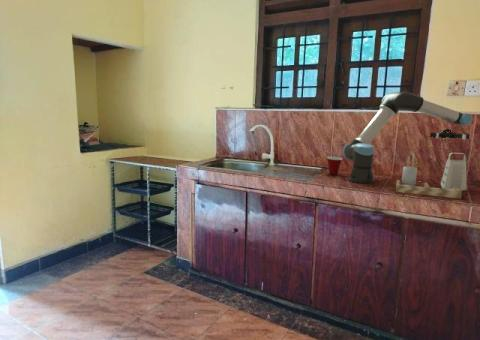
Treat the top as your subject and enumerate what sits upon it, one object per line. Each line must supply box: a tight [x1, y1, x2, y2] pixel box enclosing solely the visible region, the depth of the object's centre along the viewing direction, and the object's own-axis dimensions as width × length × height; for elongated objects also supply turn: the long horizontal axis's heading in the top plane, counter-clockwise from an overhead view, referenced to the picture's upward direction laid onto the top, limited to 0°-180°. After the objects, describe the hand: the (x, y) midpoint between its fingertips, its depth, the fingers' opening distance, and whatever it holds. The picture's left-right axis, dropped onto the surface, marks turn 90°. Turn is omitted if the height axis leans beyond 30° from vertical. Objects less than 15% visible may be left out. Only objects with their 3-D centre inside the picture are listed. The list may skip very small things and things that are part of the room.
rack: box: [395, 179, 463, 200], centre depth 168 cm, size 30×14×4 cm, turn 63°
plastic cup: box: [326, 155, 343, 175], centre depth 216 cm, size 11×11×12 cm
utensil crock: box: [400, 153, 418, 186], centre depth 171 cm, size 7×7×20 cm
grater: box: [440, 152, 467, 191], centre depth 174 cm, size 10×10×20 cm
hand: (451, 136), depth 181 cm, fingers open, 13 cm apart
